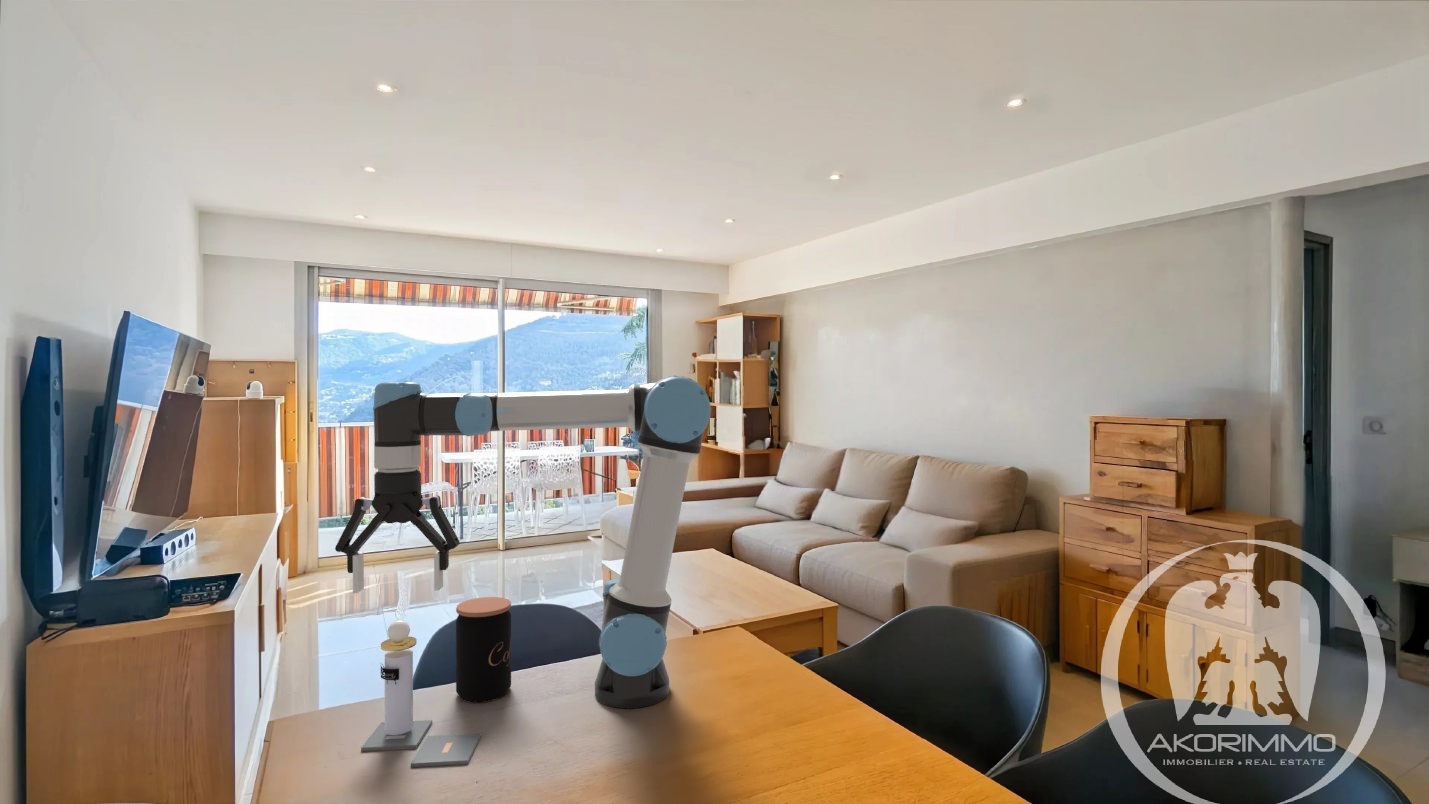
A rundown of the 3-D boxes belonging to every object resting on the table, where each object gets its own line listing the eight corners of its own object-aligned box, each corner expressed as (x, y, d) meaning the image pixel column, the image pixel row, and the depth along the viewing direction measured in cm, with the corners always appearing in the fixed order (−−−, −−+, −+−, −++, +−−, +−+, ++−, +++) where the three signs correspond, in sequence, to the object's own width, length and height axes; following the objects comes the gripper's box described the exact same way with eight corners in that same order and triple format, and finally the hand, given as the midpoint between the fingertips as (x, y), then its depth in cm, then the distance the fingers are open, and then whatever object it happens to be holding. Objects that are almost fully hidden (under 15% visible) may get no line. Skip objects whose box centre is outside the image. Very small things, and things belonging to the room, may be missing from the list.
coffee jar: (494, 706, 132) (494, 614, 132) (445, 701, 135) (444, 610, 134) (520, 684, 143) (520, 598, 143) (474, 679, 145) (474, 595, 145)
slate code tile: (432, 723, 126) (432, 719, 126) (416, 748, 117) (416, 744, 117) (381, 725, 125) (381, 722, 125) (361, 751, 116) (361, 747, 116)
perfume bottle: (399, 722, 124) (399, 613, 124) (423, 728, 122) (423, 617, 122) (373, 737, 119) (373, 623, 119) (398, 743, 117) (398, 627, 117)
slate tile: (480, 736, 121) (480, 733, 121) (467, 763, 112) (467, 760, 112) (427, 739, 120) (427, 735, 120) (410, 767, 111) (410, 763, 111)
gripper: (476, 466, 125) (476, 581, 126) (332, 468, 123) (333, 586, 123) (465, 470, 118) (466, 593, 118) (313, 473, 115) (314, 598, 115)
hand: (398, 589), depth 120 cm, fingers open, 13 cm apart
